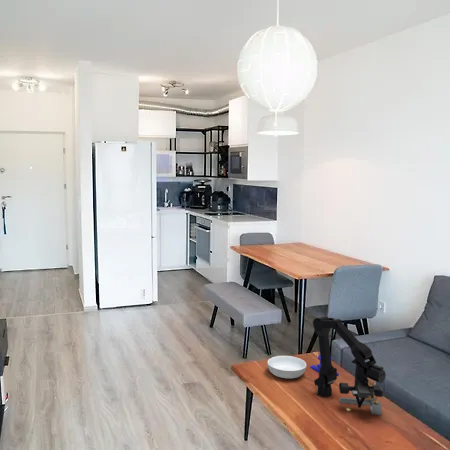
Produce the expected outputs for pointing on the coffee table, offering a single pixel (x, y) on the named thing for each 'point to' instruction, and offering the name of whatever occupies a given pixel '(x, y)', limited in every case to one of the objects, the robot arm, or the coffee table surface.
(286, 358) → the serving bowl
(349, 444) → the coffee table surface
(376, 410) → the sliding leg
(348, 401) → the hole plate
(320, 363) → the mount
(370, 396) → the ammunition clip
